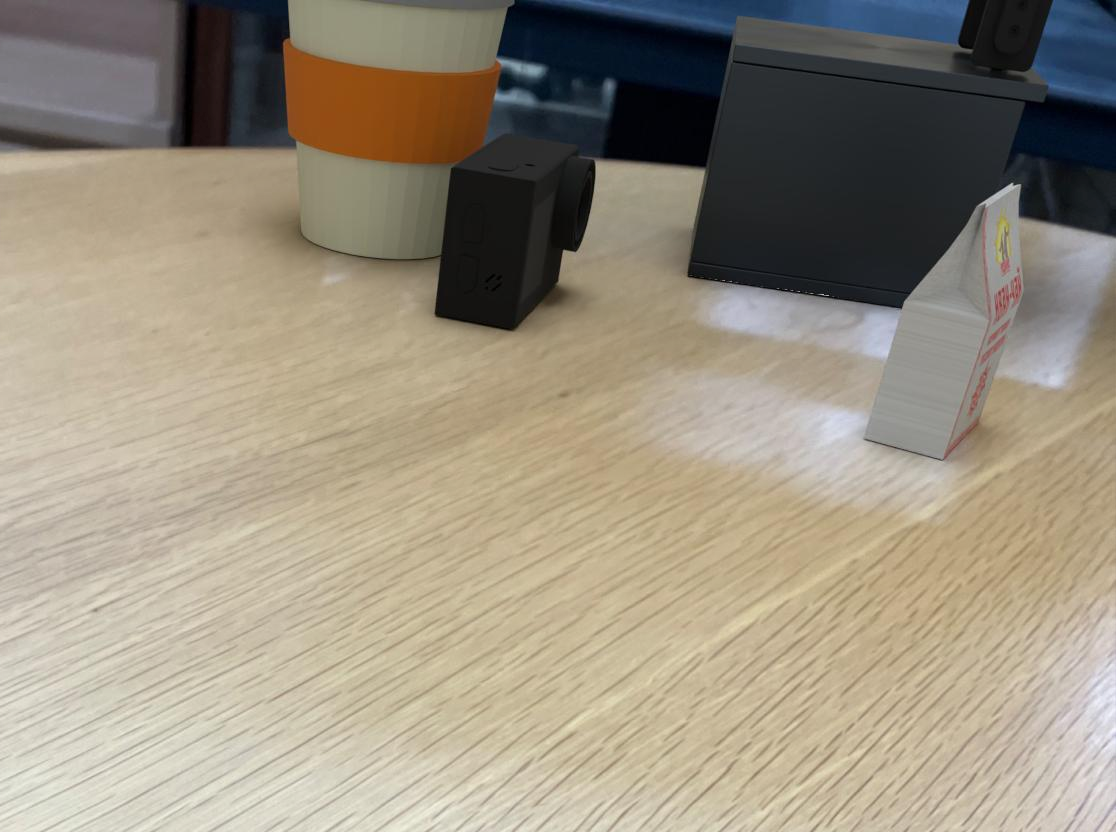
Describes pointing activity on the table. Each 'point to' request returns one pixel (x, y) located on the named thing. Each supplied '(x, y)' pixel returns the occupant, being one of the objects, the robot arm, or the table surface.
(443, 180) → the reusable coffee cup
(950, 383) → the small milk carton
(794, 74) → the bin
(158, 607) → the table surface
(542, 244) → the digital camera
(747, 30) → the bin lid
